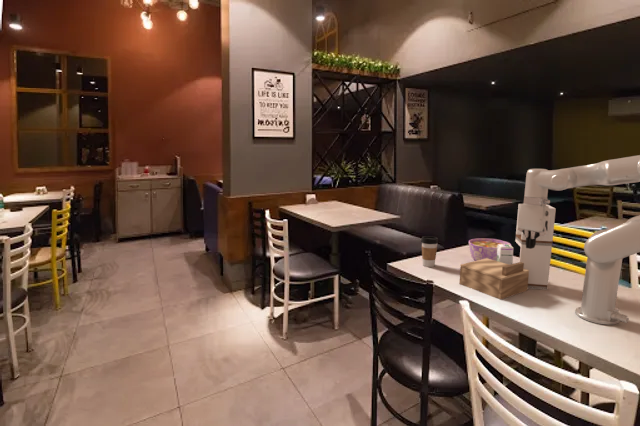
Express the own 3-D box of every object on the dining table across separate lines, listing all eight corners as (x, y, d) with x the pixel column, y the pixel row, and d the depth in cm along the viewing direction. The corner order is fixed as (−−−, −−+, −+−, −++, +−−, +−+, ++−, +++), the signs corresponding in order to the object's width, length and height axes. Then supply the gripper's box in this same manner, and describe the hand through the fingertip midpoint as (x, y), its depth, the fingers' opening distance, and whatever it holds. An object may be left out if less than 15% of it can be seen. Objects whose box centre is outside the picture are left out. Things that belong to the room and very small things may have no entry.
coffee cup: (416, 264, 192) (417, 236, 190) (429, 262, 196) (430, 234, 193) (427, 268, 185) (428, 239, 182) (440, 266, 188) (442, 237, 186)
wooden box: (527, 290, 156) (528, 272, 154) (500, 299, 147) (502, 280, 146) (485, 276, 173) (486, 260, 171) (459, 283, 164) (460, 266, 163)
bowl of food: (468, 268, 184) (470, 246, 182) (465, 257, 203) (466, 237, 201) (513, 272, 178) (515, 249, 176) (505, 260, 197) (507, 239, 195)
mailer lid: (529, 272, 154) (529, 262, 154) (502, 279, 146) (503, 269, 145) (486, 259, 171) (487, 250, 171) (460, 266, 163) (461, 256, 162)
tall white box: (539, 281, 167) (547, 204, 161) (547, 289, 157) (555, 208, 150) (512, 278, 170) (518, 203, 164) (517, 287, 160) (524, 207, 153)
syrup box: (511, 277, 171) (514, 247, 169) (498, 276, 173) (500, 246, 170) (508, 273, 177) (510, 244, 174) (495, 272, 178) (497, 243, 176)
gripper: (561, 203, 136) (555, 251, 139) (521, 198, 149) (517, 242, 152) (549, 204, 132) (544, 254, 135) (510, 199, 145) (506, 244, 148)
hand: (530, 247), depth 144 cm, fingers closed
